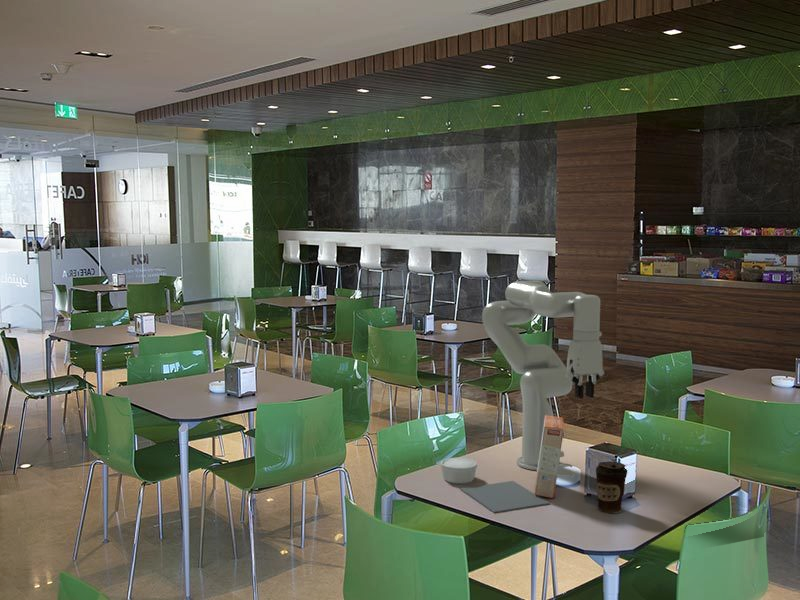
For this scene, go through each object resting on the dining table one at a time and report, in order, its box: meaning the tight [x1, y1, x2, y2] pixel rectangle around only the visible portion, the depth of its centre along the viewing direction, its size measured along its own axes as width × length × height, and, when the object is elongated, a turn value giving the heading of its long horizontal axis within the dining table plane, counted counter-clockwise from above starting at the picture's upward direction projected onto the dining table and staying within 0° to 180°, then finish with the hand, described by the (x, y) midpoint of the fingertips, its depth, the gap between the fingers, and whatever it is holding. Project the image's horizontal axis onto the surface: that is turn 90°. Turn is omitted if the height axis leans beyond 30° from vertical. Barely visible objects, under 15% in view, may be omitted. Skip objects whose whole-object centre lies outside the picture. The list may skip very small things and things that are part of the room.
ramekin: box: [440, 457, 478, 484], centre depth 242 cm, size 11×11×5 cm
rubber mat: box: [459, 480, 551, 514], centre depth 227 cm, size 18×20×1 cm
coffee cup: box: [595, 461, 628, 514], centre depth 216 cm, size 9×8×13 cm
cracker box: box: [534, 415, 565, 499], centre depth 231 cm, size 14×6×21 cm, turn 168°
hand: (584, 396), depth 234 cm, fingers open, 3 cm apart
